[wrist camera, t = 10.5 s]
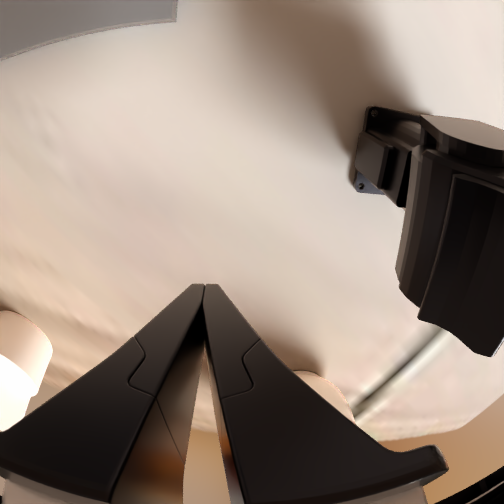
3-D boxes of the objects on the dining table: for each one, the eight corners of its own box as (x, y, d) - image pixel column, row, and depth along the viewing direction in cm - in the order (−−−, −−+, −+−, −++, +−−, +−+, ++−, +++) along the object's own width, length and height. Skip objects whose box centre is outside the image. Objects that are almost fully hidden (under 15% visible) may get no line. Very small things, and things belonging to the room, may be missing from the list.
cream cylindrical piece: (-16, 308, 27) (-57, 382, 17) (33, 312, 27) (-9, 401, 17) (15, 355, 32) (-13, 425, 22) (63, 363, 32) (38, 444, 22)
